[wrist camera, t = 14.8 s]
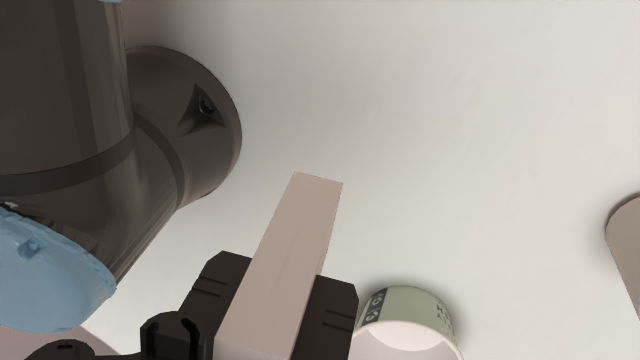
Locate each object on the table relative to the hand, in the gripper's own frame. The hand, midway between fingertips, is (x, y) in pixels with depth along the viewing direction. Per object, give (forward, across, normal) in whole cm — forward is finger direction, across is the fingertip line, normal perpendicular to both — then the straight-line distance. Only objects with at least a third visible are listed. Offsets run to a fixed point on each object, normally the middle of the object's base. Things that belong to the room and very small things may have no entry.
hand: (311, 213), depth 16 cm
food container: (+28, +10, -32) cm, 43 cm away
